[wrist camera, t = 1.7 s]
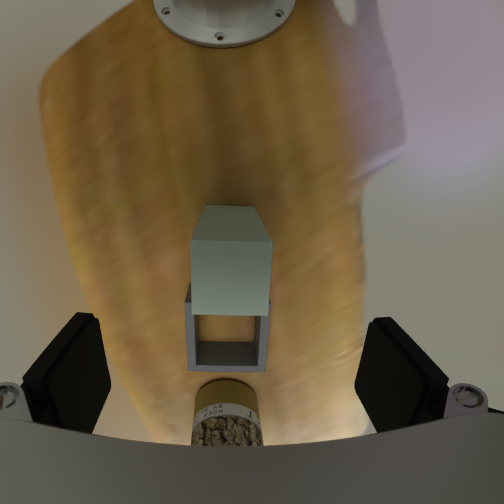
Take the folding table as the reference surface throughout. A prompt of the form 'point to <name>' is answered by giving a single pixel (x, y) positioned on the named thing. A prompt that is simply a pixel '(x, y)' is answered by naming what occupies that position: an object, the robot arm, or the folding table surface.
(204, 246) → the peg
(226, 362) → the socket block
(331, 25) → the folding table surface
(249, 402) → the bark log chew toy
